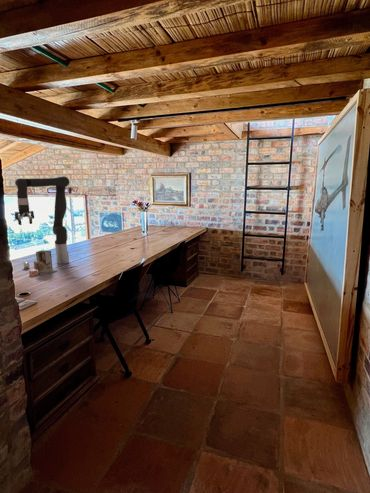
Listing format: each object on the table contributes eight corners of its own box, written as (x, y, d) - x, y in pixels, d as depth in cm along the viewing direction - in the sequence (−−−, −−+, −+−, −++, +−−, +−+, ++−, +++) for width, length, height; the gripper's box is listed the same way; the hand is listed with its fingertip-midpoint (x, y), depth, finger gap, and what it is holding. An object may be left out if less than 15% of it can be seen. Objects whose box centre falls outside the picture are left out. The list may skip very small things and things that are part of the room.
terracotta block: (34, 274, 215) (33, 269, 214) (37, 274, 213) (37, 269, 212) (29, 275, 211) (28, 270, 210) (32, 276, 209) (32, 271, 209)
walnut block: (39, 265, 238) (39, 260, 237) (43, 266, 235) (42, 260, 234) (34, 267, 233) (33, 261, 232) (37, 268, 231) (37, 262, 230)
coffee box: (53, 270, 221) (51, 250, 218) (47, 272, 215) (45, 252, 212) (43, 269, 224) (41, 249, 220) (37, 271, 218) (35, 251, 214)
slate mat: (47, 269, 227) (47, 268, 227) (56, 271, 221) (56, 270, 221) (33, 273, 217) (33, 272, 217) (42, 275, 211) (42, 274, 211)
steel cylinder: (27, 267, 232) (27, 261, 231) (30, 268, 230) (29, 262, 229) (23, 268, 229) (22, 262, 228) (25, 269, 227) (25, 263, 226)
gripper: (29, 203, 229) (31, 223, 233) (11, 204, 217) (13, 225, 221) (34, 203, 226) (36, 223, 229) (17, 204, 214) (19, 225, 217)
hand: (25, 224), depth 225 cm, fingers open, 8 cm apart
